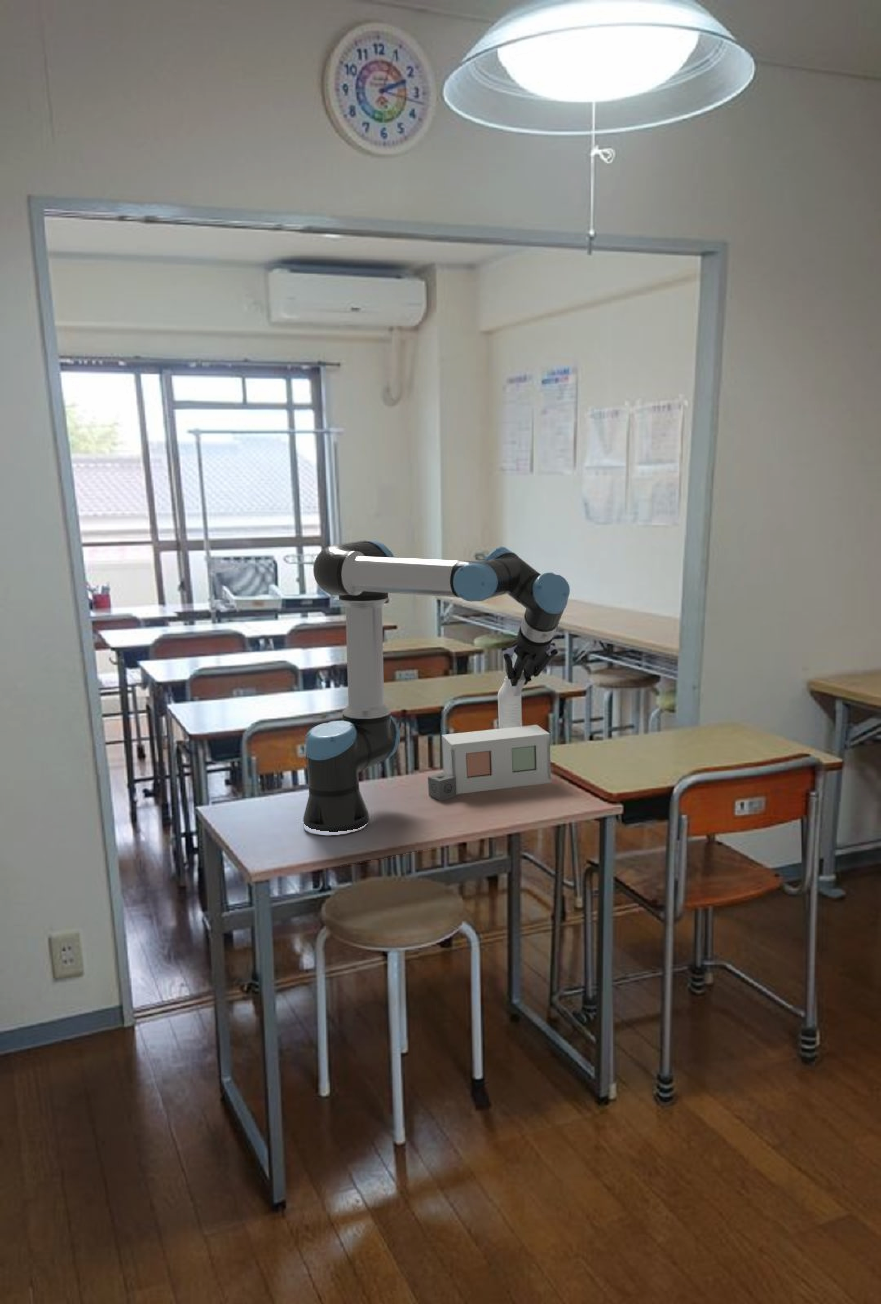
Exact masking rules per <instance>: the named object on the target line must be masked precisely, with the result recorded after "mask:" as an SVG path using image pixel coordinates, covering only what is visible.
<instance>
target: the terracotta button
mask: <svg viewBox="0 0 881 1304" xmlns="http://www.w3.org/2000/svg"><path fill="white" fill-rule="evenodd" d="M466 764H467V777H469V776H478V775H486V774H490V753H489V751H483V752H475V753H466Z"/></svg>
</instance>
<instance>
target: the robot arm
mask: <svg viewBox="0 0 881 1304" xmlns="http://www.w3.org/2000/svg"><path fill="white" fill-rule="evenodd" d="M313 577H314V580H315V582H316V584H317V585H318V587H319V588H320V589H321V590H322V591H323V592H325V593H326V594H329V595H331V596H332V595H333V596H338V601H340V603H341V604H342V605H344V608H345V630H346V631H345V633H346V634H345V636H346V660H347V661H346V663H347V665H346V666H347V669H346V670H347V671H346V672H347V695H348V697H347V699H348V700H347V701H348V705H347V706H346V707H345V708H344V709H343V710H342V712H341V713H342V720H332V721H328V722H323V723H321V724H318V725H316V726H313V727H312V728H311V729H309V731H308V732H307V733H306V735H305V747H304V752H305V762H306V774H307V784H308V797H307V801H306V806H305V809H304V812H303V813H304V814H303V818H302V822H304V823H303V825H304V824H305V825H306V826H308V827H309V828H311V829H316V830H320V831H329V832H338V831H347V830H353V829H358V828H360V827H362V826H364V825H365V824H367V823H368V821H369V822H370V817H369V816H370V815H369V811H368V808H367V806H366V804H365V803H366V802H365V801H364V799H363V798H364V797H363V795H362V794H361V791H360V790H361V789H360V780H359V779H360V778H359V777H360V775H359V773H361V772H362V771H364V770H367V769H369V768H371V767H373V766H375V765H379V764H381V763H383V762H385V761H386V760H387V759H389V758H391V757H392V756H393V755H394V754H395V753H396V751H397V749H398V748H399V747H400V746H399V745H400V741H401V731H400V727H399V725H398V723H397V722H395V721H396V720H395V718H394V717H393V716H392V714H391V712H392V711H391V709H390V708H389V707H388V706H387V705H386V704H385V689H384V688H385V686H384V685H385V683H384V682H385V681H384V679H385V678H384V639H383V637H384V636H383V632H384V631H383V605H384V604H385V603H386V602H387V601H388V600H389V594H402V595H417V596H430V597H431V596H434V597H447V598H448V597H449V598H461V599H463V601H466V602H472V603H473V602H483V601H485V600H487V599H491V598H496V597H499V596H503V595H508V596H509V597H511V598H512V599H514V601H516V603H518V604H520V605H521V606H523V607H524V608H525V612H524V615H523V617H522V619H521V620H522V621H521V623H520V626H519V629H518V632H517V636H516V640H515V641H514V643H513V644H512V647H510V648H507V647H502V648H501V653H502V657H503V660H504V668H505V672H506V676H508V679H511V680H510V681H511V688H512V692H513V695H514V696H520V694H521V695H522V691H523V687H524V686H526V685H527V684H528V683H529V682H532V677H534V678H537V677H539V675H540V674H541V673H542V671H543V670H544V669H545V668H546V666H547V665H548V664H549V663H550V661H551V659H552V658H554V657H556V655H558V653H559V652H558V649H557V648H558V647H557V645H556V643H554V642H553V640H554V636H555V633H556V631H557V629H558V627H559V624H560V620H561V618H562V617H563V614H564V611H565V609H566V607H567V605H568V602H569V600H568V599H569V597H570V593H571V591H570V590H571V589H570V585H569V582H568V581H567V579H566V578H564V576H562V575H561V574H555V573H554V572H544V573H542V574H541V573H540V572H538V571H537V570H536V569H534V568H533V567H532V566H531V565H530V564H528V562H526V561H524V560H523V559H522V558H520V557H519V556H518V555H517V554H516V553H515V552H513V551H512V550H510V549H508V548H507V547H505V546H498V547H497V548H495V549H493V550H492V551H491V552H490V553H489V554H487V556H486V557H485V559H484V560H481V561H478V560H477V561H475V560H453V559H452V560H451V559H450V560H449V559H429V558H427V559H426V558H408V557H407V558H406V557H395V555H394V554H393V553H392V550H390V549H389V548H388V546H386V545H385V544H384V543H382V542H379V541H376V540H357V541H351V542H345V543H334V544H332V545H328V546H326V547H325V548H323V549H322V550H321V551H320V552H319V553H318V554H317V556H316V557H315V560H314V563H313ZM552 642H553V643H552ZM514 654H515V655H516V656H517V657H516V659H515V662H514V665H513V657H514Z"/></svg>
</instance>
